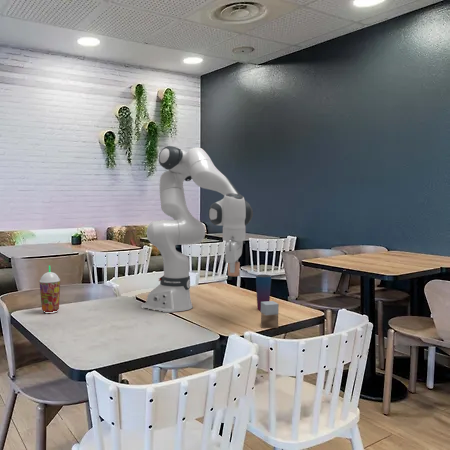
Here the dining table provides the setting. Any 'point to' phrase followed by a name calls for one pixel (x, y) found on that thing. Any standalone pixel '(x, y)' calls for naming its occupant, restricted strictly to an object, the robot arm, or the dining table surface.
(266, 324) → the tower base
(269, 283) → the cup
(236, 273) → the orange brown block
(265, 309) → the tower top block
